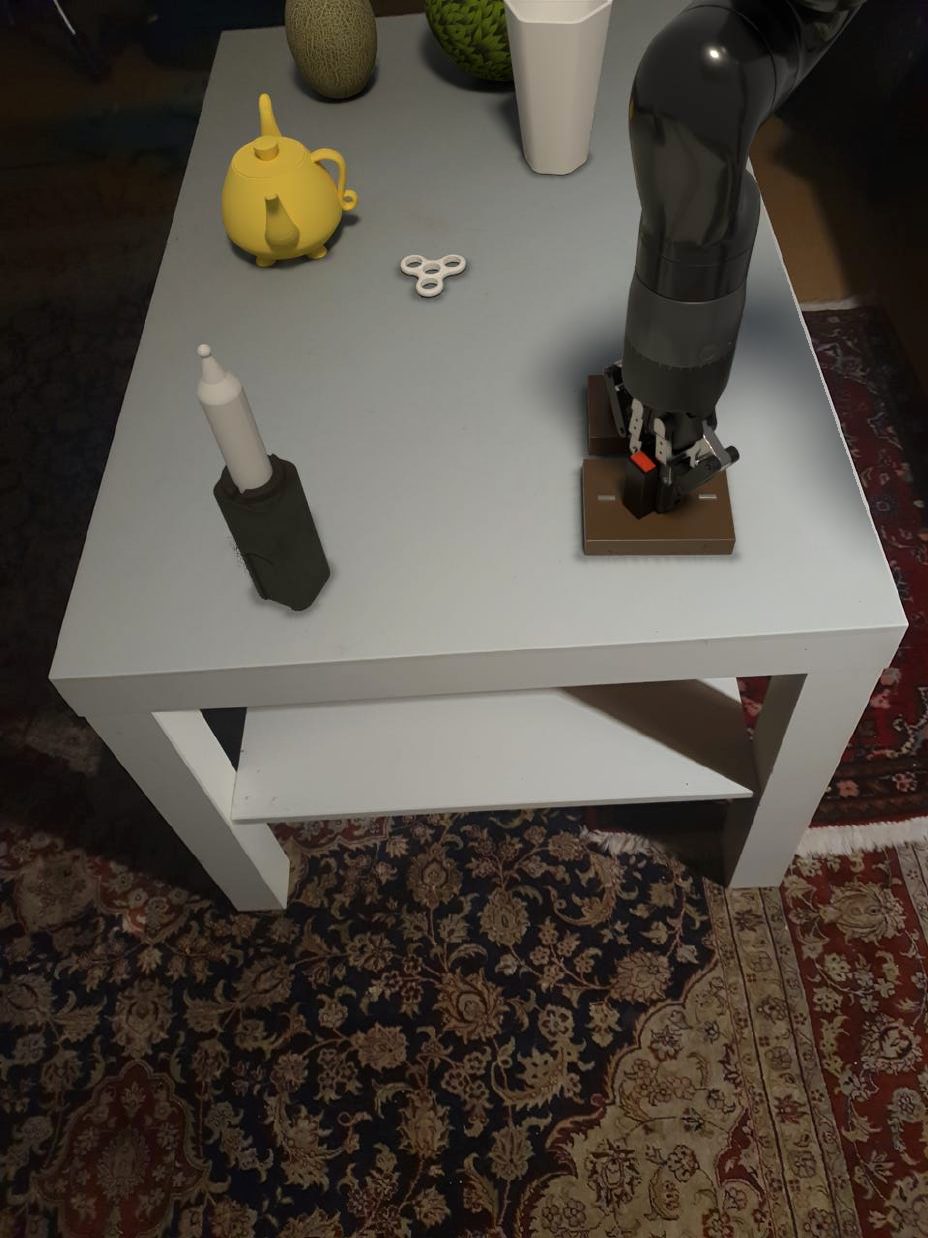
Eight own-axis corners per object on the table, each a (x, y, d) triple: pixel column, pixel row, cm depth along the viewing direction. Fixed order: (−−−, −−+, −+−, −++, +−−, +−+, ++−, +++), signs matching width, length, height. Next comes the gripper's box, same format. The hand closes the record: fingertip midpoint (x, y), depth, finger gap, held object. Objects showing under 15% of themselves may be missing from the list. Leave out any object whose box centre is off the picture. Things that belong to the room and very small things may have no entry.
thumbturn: (674, 474, 78) (683, 425, 73) (691, 490, 77) (701, 442, 72) (622, 503, 77) (627, 455, 72) (638, 520, 75) (644, 473, 71)
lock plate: (720, 472, 80) (724, 455, 78) (731, 555, 75) (736, 538, 74) (582, 474, 81) (583, 457, 80) (584, 555, 76) (585, 539, 75)
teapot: (372, 284, 98) (354, 183, 88) (234, 306, 98) (200, 207, 88) (355, 179, 109) (337, 79, 99) (231, 198, 109) (201, 100, 99)
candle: (335, 568, 78) (259, 328, 57) (305, 614, 75) (214, 382, 54) (284, 550, 79) (191, 310, 58) (252, 595, 77) (144, 362, 56)
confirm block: (694, 390, 86) (700, 356, 83) (702, 453, 82) (709, 420, 78) (586, 392, 87) (588, 359, 83) (589, 455, 82) (591, 422, 79)
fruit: (282, 94, 121) (252, -36, 108) (348, 60, 125) (327, -70, 112) (335, 124, 116) (310, -8, 103) (403, 88, 120) (386, -44, 107)
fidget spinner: (467, 258, 99) (466, 252, 98) (461, 297, 95) (461, 291, 95) (402, 259, 100) (402, 253, 99) (395, 298, 96) (394, 291, 96)
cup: (558, 195, 104) (561, 33, 90) (492, 165, 108) (484, 6, 94) (619, 150, 108) (631, -12, 94) (553, 123, 112) (554, -36, 98)
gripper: (797, 359, 59) (747, 527, 74) (661, 252, 66) (640, 425, 81) (705, 408, 57) (672, 570, 72) (576, 293, 64) (570, 462, 79)
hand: (655, 493), depth 76 cm, fingers closed on thumbturn, 2 cm apart
